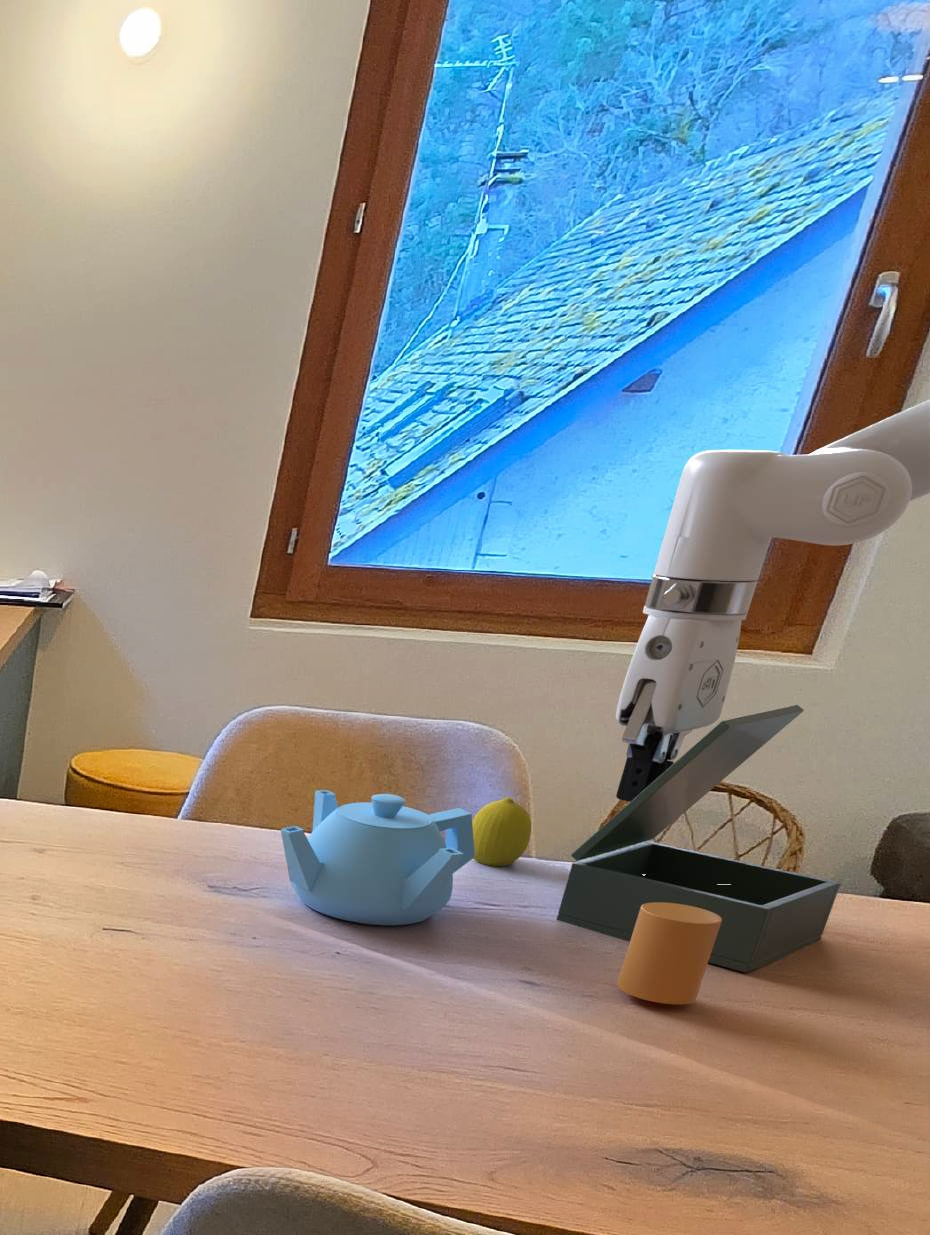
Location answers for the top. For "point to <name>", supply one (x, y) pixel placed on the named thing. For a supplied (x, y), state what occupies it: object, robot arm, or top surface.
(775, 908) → the grey hinged box
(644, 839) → the lid
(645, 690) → the robot arm
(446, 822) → the teapot
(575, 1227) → the top surface
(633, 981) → the orange cylinder
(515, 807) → the lemon
